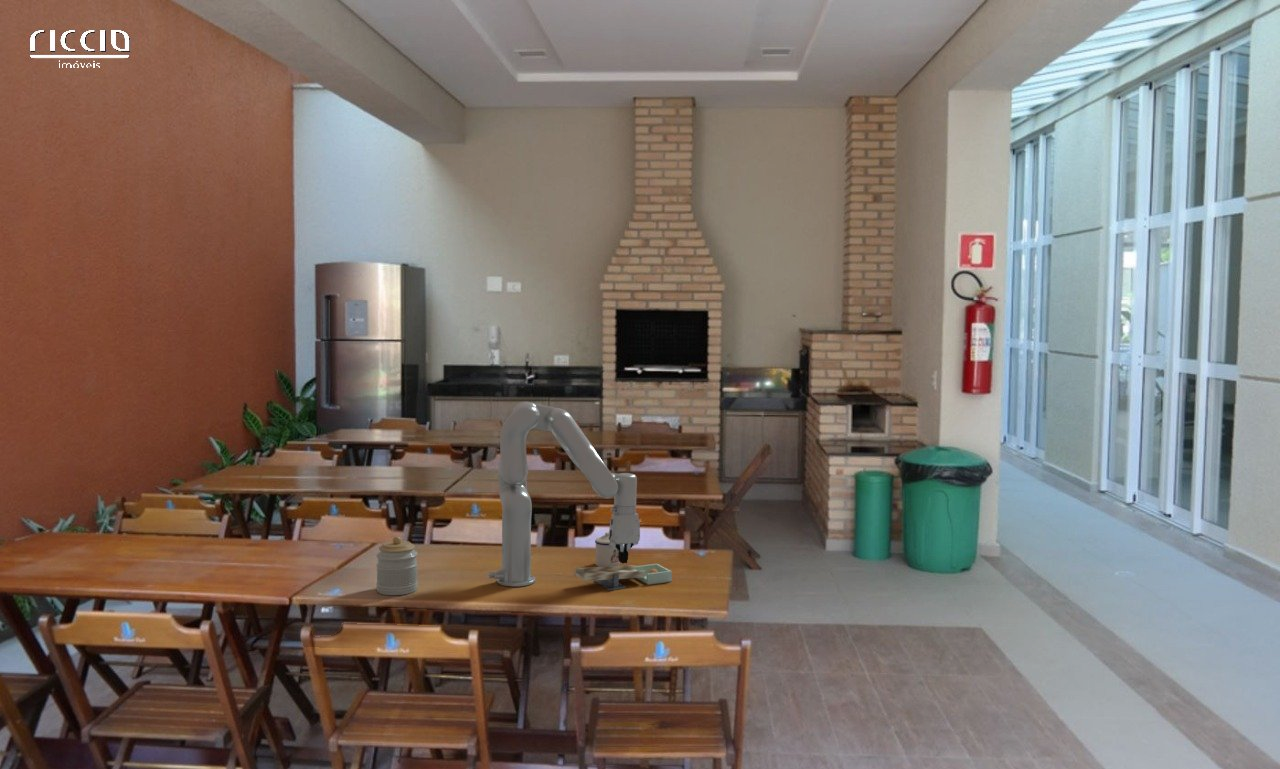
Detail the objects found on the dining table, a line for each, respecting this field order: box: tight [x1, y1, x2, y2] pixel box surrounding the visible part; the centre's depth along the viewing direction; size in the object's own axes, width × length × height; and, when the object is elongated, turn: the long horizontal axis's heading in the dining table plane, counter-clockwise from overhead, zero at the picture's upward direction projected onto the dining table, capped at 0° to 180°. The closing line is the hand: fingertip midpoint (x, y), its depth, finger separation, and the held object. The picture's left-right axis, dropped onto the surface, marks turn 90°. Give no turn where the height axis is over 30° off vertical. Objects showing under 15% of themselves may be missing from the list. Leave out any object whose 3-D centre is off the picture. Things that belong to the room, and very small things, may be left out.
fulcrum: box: [593, 574, 627, 591], centre depth 313 cm, size 6×12×5 cm, turn 27°
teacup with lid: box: [594, 531, 620, 567], centre depth 339 cm, size 12×9×12 cm
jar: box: [375, 535, 419, 596], centre depth 304 cm, size 13×13×18 cm
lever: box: [574, 564, 645, 582], centre depth 315 cm, size 22×13×3 cm, turn 117°
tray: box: [635, 563, 673, 586], centre depth 320 cm, size 9×11×4 cm
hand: (623, 562), depth 323 cm, fingers closed
